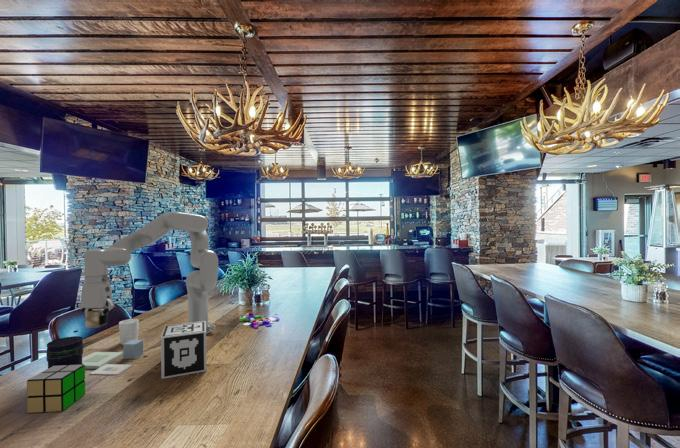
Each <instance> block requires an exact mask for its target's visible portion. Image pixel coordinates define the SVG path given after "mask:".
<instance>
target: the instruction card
mask: <svg viewBox="0 0 680 448" xmlns="http://www.w3.org/2000/svg"><path fill="white" fill-rule="evenodd" d="M131 367H133V364H117V363H116V364H114V363H113V364H111V363H109V364H106V365H104V366H102V367H100V368H98V369H94V370H93V371H91V372H90V373H89V375H94V376H95V375H97V376H98V375H100V376H101V375H102V376H103V375H104V376H119V375H120V374H122V373H123V372H124V371H127V370H128V369H130V368H131Z"/></svg>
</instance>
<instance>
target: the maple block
mask: <svg viewBox="0 0 680 448" xmlns="http://www.w3.org/2000/svg"><path fill="white" fill-rule="evenodd" d="M103 310H104V308H103ZM100 315H101V314H100V310H99V308H94V309H93V310H91V311H88V312H85V315H84V316H85V317H84V318H85V322H84V324H85V325H84V326H85V328H89V329H90V328H91V329H92V328H95V329H97V328H100V327H103V326H106V325H107V324H108V322H107V323H106V324H104V325H99V316H100Z"/></svg>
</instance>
